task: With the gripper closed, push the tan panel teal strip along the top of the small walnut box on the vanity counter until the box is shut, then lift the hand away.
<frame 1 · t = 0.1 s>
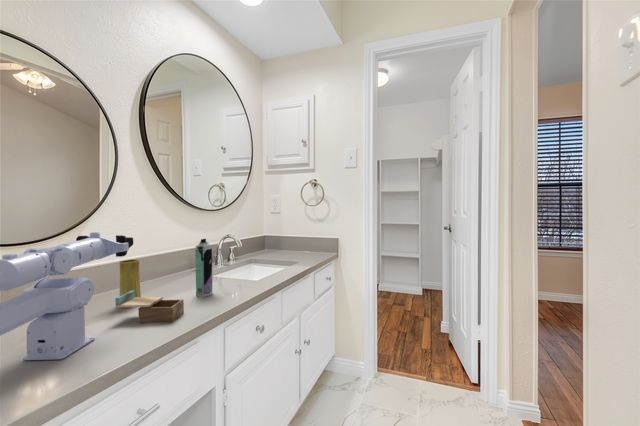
hand: (118, 241, 84), 22 cm above the worktop, tool horizontal, fingers open, 7 cm apart
spray can: (204, 294, 105), on the worktop
vase: (130, 305, 94), on the worktop
tan panel teal strip: (140, 298, 82), point 6 cm above the worktop, slide at 6.0 cm
box: (162, 317, 83), on the worktop
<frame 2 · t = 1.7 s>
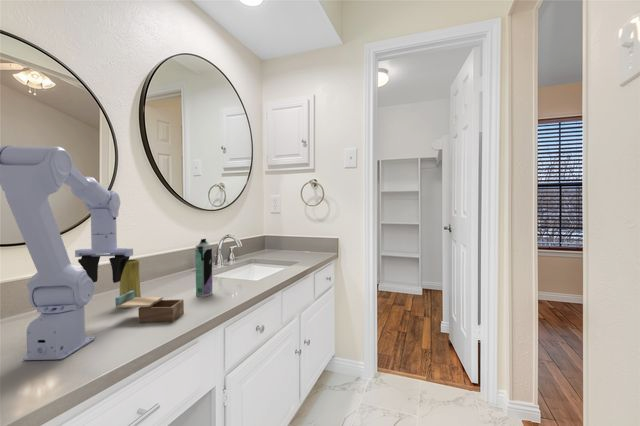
hand: (105, 282, 82), 10 cm above the worktop, tool pointing down, fingers open, 6 cm apart
nothing on the worktop moved.
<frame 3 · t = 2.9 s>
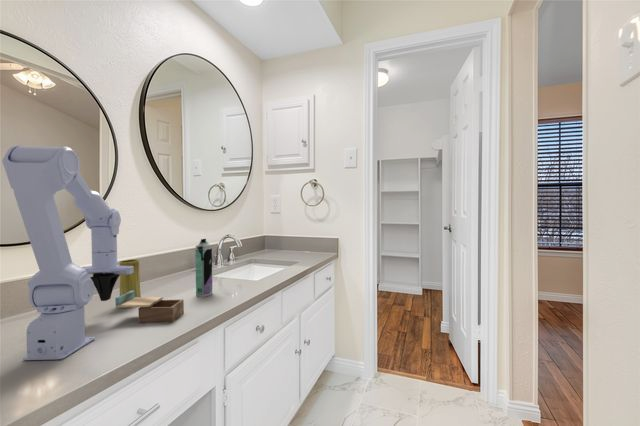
hand: (105, 299, 82), 5 cm above the worktop, tool pointing down, fingers closed
nothing on the worktop moved.
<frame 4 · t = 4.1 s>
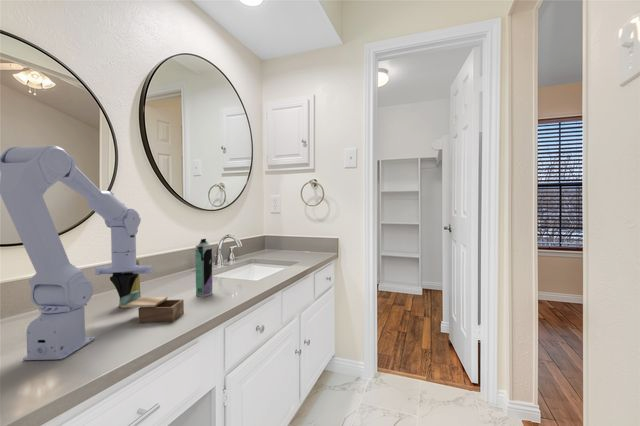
hand: (124, 299, 82), 5 cm above the worktop, tool pointing down, fingers closed
tan panel teal strip: (145, 298, 82), point 6 cm above the worktop, slide at 4.6 cm, touching gripper
everything else where it was.
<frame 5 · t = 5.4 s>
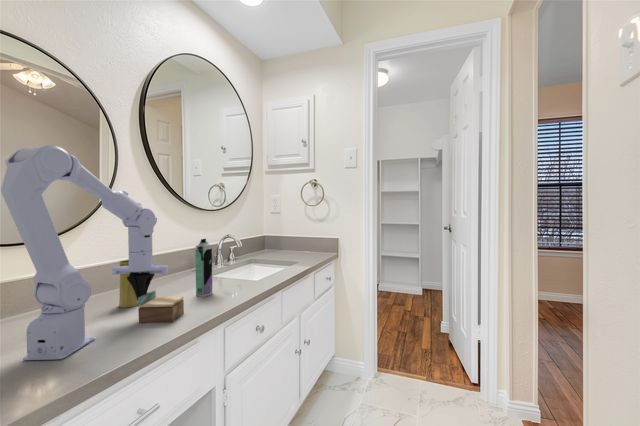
hand: (141, 299, 82), 5 cm above the worktop, tool pointing down, fingers closed
tan panel teal strip: (161, 298, 82), point 6 cm above the worktop, slide at 0.0 cm, touching gripper
everything else where it was.
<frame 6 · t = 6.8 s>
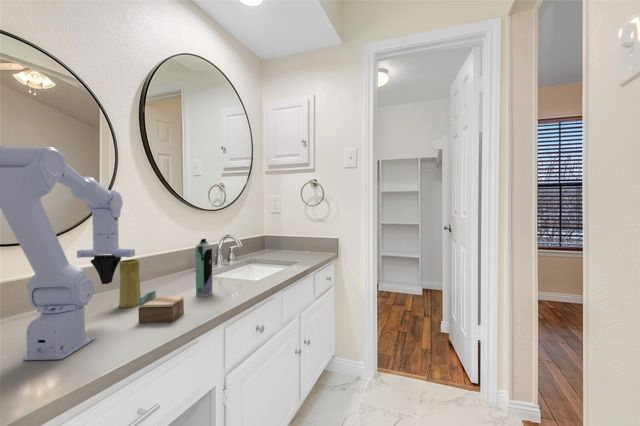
hand: (106, 283, 81), 10 cm above the worktop, tool pointing down, fingers closed
tan panel teal strip: (161, 298, 82), point 6 cm above the worktop, slide at 0.0 cm
everything else where it was.
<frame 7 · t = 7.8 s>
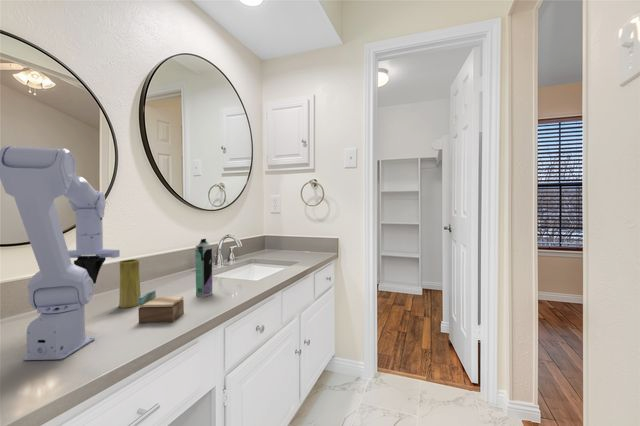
hand: (90, 284, 80), 10 cm above the worktop, tool pointing down, fingers closed
nothing on the worktop moved.
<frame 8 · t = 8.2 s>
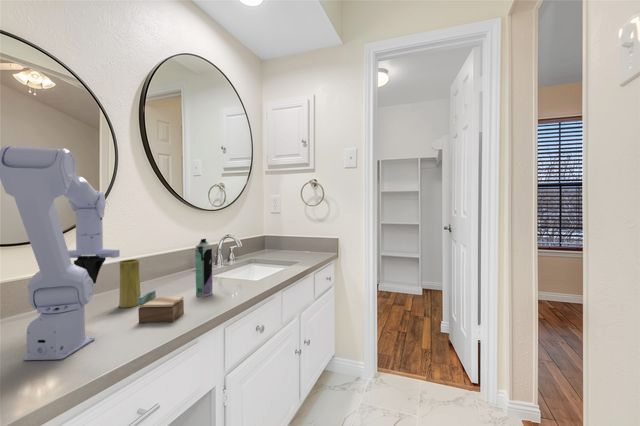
hand: (90, 284, 80), 10 cm above the worktop, tool pointing down, fingers closed
nothing on the worktop moved.
at the end: tan panel teal strip slide at 0.0 cm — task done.
